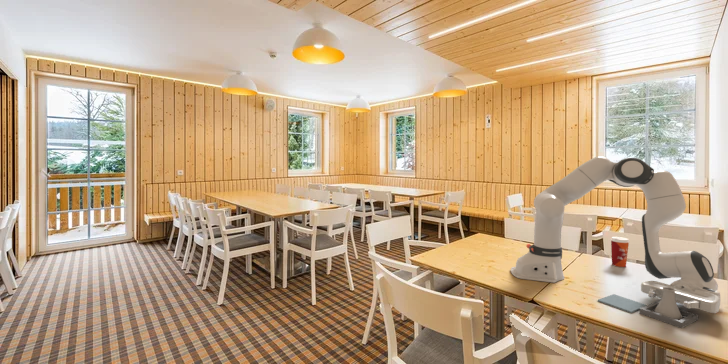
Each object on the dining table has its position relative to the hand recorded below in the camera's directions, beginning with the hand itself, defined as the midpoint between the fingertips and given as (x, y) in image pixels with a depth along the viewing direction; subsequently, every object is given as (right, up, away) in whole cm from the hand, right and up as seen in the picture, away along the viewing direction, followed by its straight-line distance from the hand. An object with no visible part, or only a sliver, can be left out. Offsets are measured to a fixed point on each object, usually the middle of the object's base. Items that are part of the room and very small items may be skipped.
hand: (667, 300), depth 112 cm
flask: (+1, -6, +1) cm, 6 cm away
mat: (-7, -5, +11) cm, 14 cm away
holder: (+1, -6, +1) cm, 6 cm away
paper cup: (+25, -2, +53) cm, 59 cm away
